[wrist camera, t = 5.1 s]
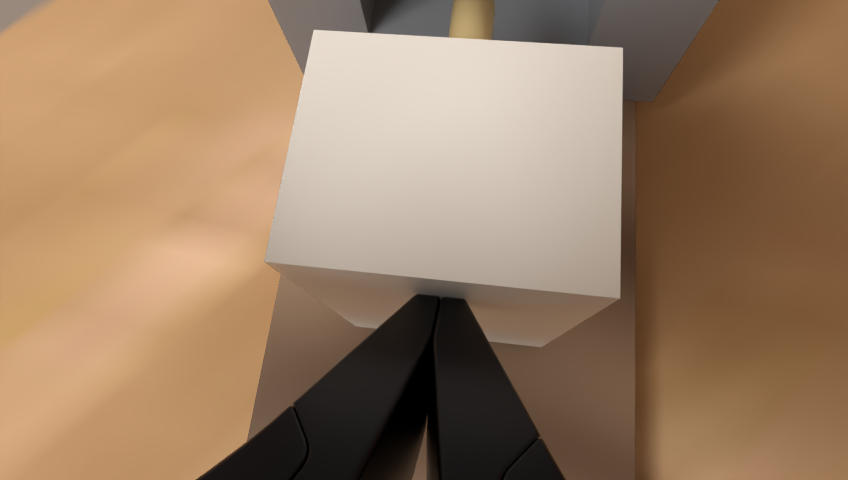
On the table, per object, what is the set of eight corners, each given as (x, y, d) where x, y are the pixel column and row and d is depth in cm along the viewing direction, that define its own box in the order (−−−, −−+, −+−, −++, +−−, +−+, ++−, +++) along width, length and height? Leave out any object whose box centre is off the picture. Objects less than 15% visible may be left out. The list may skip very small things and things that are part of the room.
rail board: (619, 633, 13) (634, 656, 12) (237, 571, 14) (217, 586, 13) (625, -26, 19) (636, -54, 18) (355, -38, 20) (349, -65, 19)
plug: (541, 347, 14) (620, 298, 7) (355, 325, 14) (263, 261, 7) (552, 131, 15) (624, -72, 9) (388, 119, 16) (337, -83, 9)
